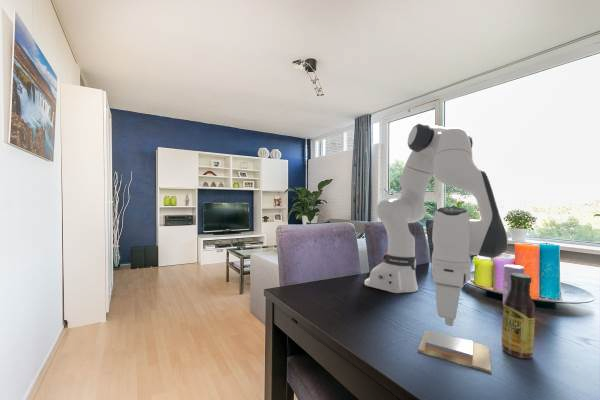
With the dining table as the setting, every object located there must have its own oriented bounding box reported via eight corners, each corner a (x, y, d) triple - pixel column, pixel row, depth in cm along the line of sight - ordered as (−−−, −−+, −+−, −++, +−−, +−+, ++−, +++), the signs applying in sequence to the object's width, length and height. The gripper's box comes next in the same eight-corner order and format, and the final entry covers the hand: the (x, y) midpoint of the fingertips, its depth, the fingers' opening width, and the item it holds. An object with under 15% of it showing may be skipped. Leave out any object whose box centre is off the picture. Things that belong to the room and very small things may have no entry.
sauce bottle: (495, 346, 71) (496, 270, 71) (517, 346, 72) (518, 270, 72) (517, 361, 65) (518, 278, 65) (541, 360, 65) (543, 277, 65)
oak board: (418, 351, 68) (418, 349, 68) (425, 332, 78) (425, 330, 78) (491, 373, 60) (491, 370, 60) (488, 348, 70) (488, 346, 70)
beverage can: (527, 311, 94) (528, 268, 94) (508, 310, 96) (509, 267, 96) (517, 305, 100) (518, 264, 100) (499, 303, 101) (500, 263, 101)
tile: (429, 336, 75) (425, 348, 69) (429, 330, 75) (425, 342, 69) (472, 347, 70) (472, 361, 63) (472, 341, 70) (472, 355, 63)
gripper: (441, 261, 81) (440, 307, 81) (431, 277, 64) (430, 336, 64) (466, 264, 77) (465, 312, 77) (463, 281, 60) (461, 344, 60)
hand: (449, 323), depth 70 cm, fingers closed
